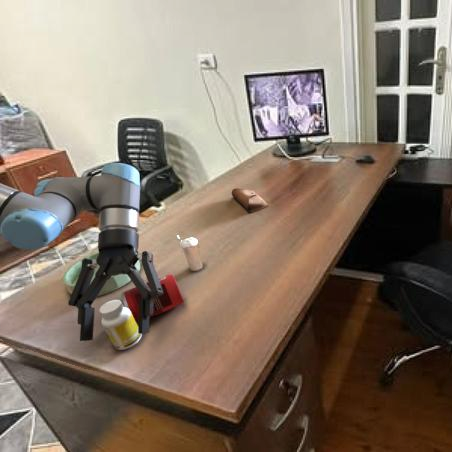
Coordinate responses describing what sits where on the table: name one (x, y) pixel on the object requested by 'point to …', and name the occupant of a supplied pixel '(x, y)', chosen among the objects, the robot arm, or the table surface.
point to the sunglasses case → (249, 199)
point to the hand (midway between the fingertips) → (115, 336)
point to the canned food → (161, 303)
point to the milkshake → (191, 253)
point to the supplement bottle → (119, 325)
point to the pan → (110, 285)
